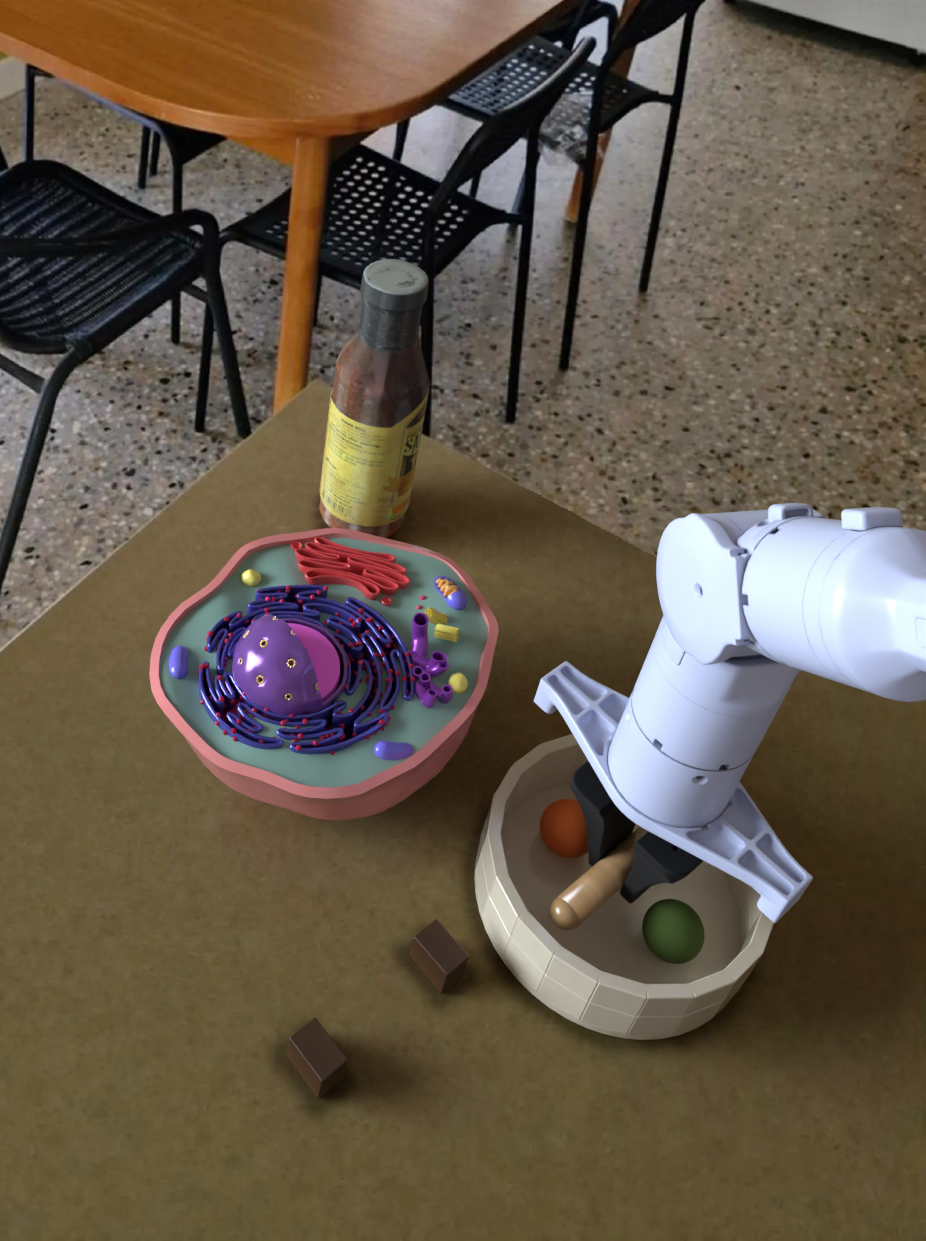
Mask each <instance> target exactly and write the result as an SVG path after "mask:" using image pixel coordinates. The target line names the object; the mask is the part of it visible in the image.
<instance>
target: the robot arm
mask: <svg viewBox="0 0 926 1241" xmlns="http://www.w3.org/2000/svg"><path fill="white" fill-rule="evenodd" d="M840 518H841V519H834V518H826V517H825V515H823V514H822V513H821V512H819V511H818V510H816V509H814V508H813V507H812V506H811V505H810V504H809V503H803V502H785V503H774V504H771V505H770V506H769V507H768V508H767V509H755V510H741V511H728V512H714V513H713V512H712V513H698V512H691V513H689V514H688V515H687V516H685V517H678V518H675V519H673V520H672V521H670V522H669V524H667V526H666V527H665V529H664V530H663V532H662V535H661V537H660V540H659V543H658V548H657V552H656V563H655V576H656V577H655V579H656V588H657V596H658V598H659V599H658V600H659V604H660V609H661V611H662V618H661V620H660V623H659V625H658V628H657V629H656V632H655V635H654V638H653V640H652V643H651V645H650V647H649V650H648V652H647V655H646V657H645V660H644V662H643V664H642V667H641V669H640V672H639V674H638V676H637V680H636V682H635V684H634V686H633V688H632V691H631V694H630V695H629V696H627V695H624V694H623V693H621V692H618V691H616V690H614V689H612V688H610V687H608V686H606V685H604V684H603V683H600V682H599V681H597V680H594V679H593V678H592V677H589V676H588V675H586V674H584V673H583V672H581V671H580V670H579V669H577V668H576V667H575V666H574V665H572V664H571V663H570V662H569V661H567V660H565V661H564V662H562V663H561V664H559V665H558V666H557V667H555V668H553V669H552V670H551V671H549V672H548V673H547V674H545V675H544V676H542V677H541V678H540V680H539V684H538V686H537V689H536V693H535V696H534V698H533V703H535V705H536V706H538V707H539V709H541V710H542V711H543V712H544V713H545V714H548V715H552V714H554V713H555V712H556V711H558V713H559V714H560V716H561V717H562V719H563V720H564V722H565V724H566V725H567V726H568V729H569V730H570V732H571V734H573V735H574V737H575V739H576V740H577V742H578V744H579V745H580V747H581V749H582V751H583V752H584V754H585V756H586V757H587V759H588V760H587V762H585V763H584V764H583V765H581V766H580V767H579V768H578V769H577V770H576V771H575V772H574V774H573V777H572V780H571V785H570V789H571V790H572V792H573V793H574V795H575V796H576V798H577V800H578V802H579V804H580V807H581V810H582V812H583V815H584V819H585V823H586V829H587V836H588V859H589V864H590V865H591V866H592V867H593V866H594V865H595V864H596V863H597V862H599V861H600V860H601V859H602V858H603V857H604V856H606V855H607V854H608V853H609V852H610V851H611V850H613V849H614V848H615V847H616V846H617V845H618V844H620V843H621V842H622V841H623V840H624V839H625V838H627V837H628V836H629V835H630V834H631V833H632V832H633V830H634V827H635V825H636V824H637V825H639V826H640V827H642V828H644V829H645V830H647V831H648V832H647V833H646V834H645V835H643V836H642V837H641V838H640V839H639V840H638V841H636V843H635V845H634V851H635V858H634V863H633V866H632V870H631V872H630V874H629V875H628V877H627V878H626V880H625V882H624V883H623V887H622V888H621V890H620V895H621V896H622V897H623V898H624V899H625V900H626V901H627V902H628V903H633V902H634V901H635V900H636V899H638V898H639V897H640V896H641V895H642V894H643V893H644V892H645V891H646V890H648V889H649V888H650V887H651V886H653V885H656V884H660V883H670V884H673V883H675V882H678V881H680V880H682V879H683V878H685V877H686V876H688V875H689V874H690V873H691V872H692V871H693V870H694V869H695V868H697V867H698V866H699V865H700V864H701V863H702V862H703V861H705V862H707V863H709V864H711V865H713V866H715V867H717V868H719V869H720V870H722V871H724V872H726V873H728V874H730V875H732V876H734V877H735V878H737V879H739V880H741V881H743V882H745V883H746V884H748V885H750V886H751V887H752V888H753V889H755V890H756V891H757V892H758V893H759V894H760V895H761V897H760V898H759V900H758V902H757V907H758V908H759V910H760V911H761V912H762V913H764V914H765V915H766V916H767V917H768V918H769V919H770V920H771V921H772V922H773V923H774V924H776V923H778V922H779V921H780V919H782V918H783V917H784V916H785V915H786V914H787V913H788V912H789V911H790V910H791V908H793V907H794V906H795V905H796V904H797V903H798V902H799V901H800V899H801V897H802V896H803V894H804V893H805V892H806V890H807V889H808V887H809V885H810V884H811V882H812V881H813V879H814V877H813V875H811V874H810V873H809V872H808V871H807V870H806V869H805V868H804V867H803V866H802V865H801V864H800V863H799V862H798V861H797V860H796V859H795V858H794V856H792V854H791V853H790V852H789V851H788V850H787V848H786V847H785V845H784V844H783V843H782V841H781V839H780V838H779V837H778V835H777V834H776V832H775V831H774V829H773V828H772V827H771V825H770V824H769V822H768V820H767V819H766V818H765V816H764V815H763V814H762V812H761V811H760V809H759V807H758V806H757V804H756V803H755V801H754V800H753V799H752V798H751V796H750V795H749V793H748V792H747V789H745V787H744V786H743V784H742V782H741V780H742V778H743V776H744V774H745V772H746V770H747V769H748V767H749V765H750V763H751V761H752V759H753V757H754V755H755V754H756V753H757V750H758V748H759V746H760V745H761V743H762V742H763V739H764V737H765V735H766V734H767V732H768V730H769V728H770V726H771V724H772V722H773V720H774V719H775V717H776V715H777V713H778V711H779V709H780V708H781V706H782V704H783V702H784V700H785V698H786V696H787V694H788V693H789V691H790V689H791V687H792V685H793V684H794V681H795V680H796V678H797V676H798V674H799V673H800V674H801V672H806V673H808V674H812V675H815V676H817V677H820V678H824V679H826V680H829V681H834V682H836V683H839V684H842V685H844V686H848V687H851V688H854V689H856V690H857V689H858V690H861V691H864V692H866V693H870V694H872V695H876V696H878V697H882V698H885V699H886V700H887V699H888V700H891V701H897V702H903V703H917V702H923V701H926V530H923V529H918V528H910V527H904V524H903V512H902V511H901V510H900V509H899V508H896V507H887V506H886V507H884V506H871V507H856V508H855V507H853V508H844V509H843V510H842V511H841V513H840Z"/></svg>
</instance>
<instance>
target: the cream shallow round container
mask: <svg viewBox="0 0 926 1241" xmlns="http://www.w3.org/2000/svg"><path fill="white" fill-rule="evenodd" d="M587 760H588V759H587V757H586V756H585V754H584V752H583V751H582V749H581V747H580V745H579V744H578V742H577V740H576V739H575V737H574V735H573V734H572V733H571V734H567V735H564V736H562V737H561V736H560V737H558V738H554V739H551V740H547V741H545V742H542V743H540V744H537V746H535V747H534V748H532V749H531V750H530V751H529V752H527V753H526V754H524V755H523V756H522V757H521V758H519V759H518V760H516V761H515V762H514V763H512V764H511V766H509V768H508V771H507V772H506V773H505V775H504V777H503V778H502V780H501V782H500V783H499V785H498V787H497V789H496V790H495V792H494V794H493V796H492V799H491V803H490V805H489V808H488V810H487V811H488V812H487V814H486V817H485V821H484V824H483V827H482V830H481V833H480V836H479V844H478V847H477V853H476V858H475V863H474V878H473V879H474V880H473V881H474V889H475V898H476V903H477V908H478V912H479V915H480V918H481V921H482V924H483V927H484V930H485V931H486V934H487V936H488V938H489V940H490V942H491V945H492V946H493V949H494V950H495V952H496V953H497V954H498V956H499V958H500V959H501V960H502V962H503V964H504V965H505V966H506V967H507V969H508V970H509V971H510V972H511V974H512V975H513V976H514V977H515V979H516V980H517V982H519V983H520V984H521V985H522V986H523V987H524V988H525V989H526V990H527V991H528V992H529V993H530V994H531V995H532V996H534V997H535V998H536V999H537V1000H538V1001H540V1002H541V1003H542V1004H543V1005H545V1006H546V1007H547V1008H549V1009H550V1010H552V1011H553V1012H555V1013H557V1014H558V1015H560V1016H561V1017H563V1018H564V1019H567V1021H570V1022H572V1023H575V1024H577V1025H579V1026H580V1027H583V1028H585V1029H588V1030H590V1031H593V1032H597V1033H599V1034H602V1035H606V1036H610V1037H615V1038H619V1039H625V1040H639V1041H648V1040H649V1041H650V1040H663V1039H668V1038H673V1037H678V1036H680V1035H683V1034H686V1033H688V1032H692V1031H694V1030H696V1029H698V1028H700V1027H701V1026H703V1025H705V1024H706V1023H708V1022H709V1021H711V1020H712V1019H713V1018H714V1017H715V1016H717V1015H718V1014H719V1013H720V1012H721V1011H722V1010H724V1008H725V1007H726V1006H727V1004H728V1003H729V1002H730V1000H731V999H732V998H734V996H735V995H736V994H737V993H738V992H739V991H740V990H741V988H742V986H743V985H744V983H745V982H746V980H747V979H748V977H749V976H750V975H751V973H752V971H753V970H754V968H755V967H756V965H757V964H758V963H759V961H760V959H761V957H763V955H764V952H765V951H766V950H765V949H766V947H767V944H768V941H769V939H770V936H771V933H772V930H773V927H774V924H775V923H773V922H772V921H771V920H770V919H769V918H768V917H767V916H766V915H765V914H764V913H762V912H761V911H760V910H759V908H758V907H757V902H758V900H759V898H760V897H761V895H760V894H759V893H758V892H757V891H756V890H755V889H753V888H752V887H751V886H750V885H748V884H746V883H745V882H743V881H741V880H739V879H737V878H735V877H734V876H732V875H730V874H728V873H726V872H724V871H722V870H720V869H719V868H717V867H715V866H713V865H711V864H709V863H707V862H705V861H703V862H702V863H701V864H700V865H699V866H698V867H697V868H695V869H694V870H693V871H692V872H691V873H690V874H689V875H688V876H686V877H685V878H683V879H682V880H680V881H678V882H675V883H673V884H670V883H660V884H656V885H653V886H651V887H650V888H649V889H648V890H646V891H645V892H644V893H643V894H642V895H641V896H640V897H639V898H638V899H636V900H635V901H634V902H633V903H628V902H627V901H626V900H625V899H624V898H623V897H622V896H621V895H620V890H621V889H620V890H619V891H617V892H616V893H615V894H614V895H613V896H612V897H611V898H609V899H608V900H607V901H606V902H605V903H604V904H603V905H601V906H600V907H599V908H598V909H597V910H596V911H595V912H594V913H592V914H591V915H590V916H589V917H588V918H587V919H586V920H584V921H583V922H582V923H581V924H580V925H579V926H578V927H576V928H575V929H573V930H562V929H560V928H558V927H557V926H556V925H555V924H554V923H553V922H552V920H551V918H550V913H549V909H550V905H551V903H552V901H553V900H554V899H555V898H556V897H557V896H559V895H560V894H561V893H562V892H563V891H564V890H566V889H567V888H568V887H569V886H570V885H572V884H573V883H574V882H575V881H576V880H577V879H579V878H580V877H581V876H582V875H583V874H584V873H586V872H587V871H588V870H589V869H590V868H591V867H592V866H591V865H590V864H589V859H588V852H587V853H586V854H584V855H582V856H580V857H577V858H564V857H561V856H559V855H557V854H555V853H553V852H552V851H551V850H550V849H549V848H548V847H547V846H546V845H545V843H544V841H543V839H542V837H541V833H540V819H541V816H542V814H543V812H544V810H545V809H546V808H547V807H548V806H549V805H550V804H551V803H553V802H554V801H557V800H560V799H572V800H576V801H578V800H577V798H576V796H575V795H574V793H573V792H572V790H571V789H570V785H571V780H572V777H573V774H574V772H575V771H576V770H577V769H578V768H579V767H580V766H581V765H583V764H584V763H585V762H587ZM638 827H640V826H639V825H637V824H636V825H635V827H634V830H633V832H634V831H635V830H636V829H637V828H638ZM633 832H632V833H633ZM663 899H676V900H679V901H682V902H684V903H686V904H688V905H689V906H690V907H692V908H693V909H694V910H695V911H696V913H697V914H698V915H699V917H700V919H701V921H702V924H703V927H704V934H705V938H704V944H703V947H702V949H701V951H700V952H699V954H698V955H697V956H696V957H695V958H694V959H692V960H691V961H689V962H686V963H682V964H672V963H668V962H665V961H663V960H661V959H660V958H658V957H657V956H656V955H654V954H653V953H652V951H651V950H650V949H649V948H648V946H647V944H646V942H645V940H644V937H643V931H642V924H643V918H644V916H645V913H646V912H647V910H648V909H649V908H650V906H652V905H653V904H654V903H656V902H658V901H660V900H663Z"/></svg>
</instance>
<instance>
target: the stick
mask: <svg viewBox="0 0 926 1241" xmlns="http://www.w3.org/2000/svg"><path fill="white" fill-rule="evenodd" d="M647 832H648V831H647V830H645V829H644V828H642V827H638V828H637V829H636V830H635V831H634V832H633V833H631V834H630V835H629V836H628V837H627V838H625V839H624V840H623V841H622V842H621V843H620V844H618V845H617V846H616V847H615V848H614V849H613V850H611V851H610V852H609V853H608V854H607V855H606V856H604V857H603V858H602V859H601V860H600V861H599V862H597V863H596V864H595V865H594V866H593V867H591V868H590V869H589V870H588V871H587V872H586V873H584V874H583V875H582V876H581V877H580V878H579V879H577V880H576V881H575V882H574V883H573V884H572V885H570V886H569V887H568V888H567V889H566V890H564V891H563V892H562V893H561V894H560V895H559V896H557V897H556V898H555V899H554V900H553V901H552V903H551V905H550V909H549V913H550V918H551V920H552V922H553V923H554V924H555V925H556V926H557V927H558V928H560V929H562V930H573V929H575V928H576V927H578V926H579V925H580V924H581V923H582V922H583V921H584V920H586V919H587V918H588V917H589V916H590V915H591V914H592V913H594V912H595V911H596V910H597V909H598V908H599V907H600V906H601V905H603V904H604V903H605V902H606V901H607V900H608V899H609V898H611V897H612V896H613V895H614V894H615V893H616V892H617V891H619V890H620V889H621V888H622V887H623V883H624V882H625V880H626V878H627V877H628V875H629V874H630V872H631V870H632V866H633V863H634V858H635V851H634V845H635V843H636V841H638V840H639V839H640V838H641V837H642V836H643V835H645V834H646V833H647Z"/></svg>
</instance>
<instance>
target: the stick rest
mask: <svg viewBox="0 0 926 1241" xmlns="http://www.w3.org/2000/svg"><path fill="white" fill-rule="evenodd" d="M408 956H409V957H410V959H411V960H412V961H413V962H414V964H415V965H416V966H417V967H418V968H419V969H420V971H421V972H422V973H423V974H424V975H425V976H426V978H427V979H428V980H429V981H430V982H431V983H432V985H433V986H434V987H435V988H436V989H437V990H438V992H439V993H440V994H443V993H444V992H446V991H447V990H448V989H449V988H451V986H452V985H454V984H455V983H456V982H457V981H458V980H459V979H461V978H462V977H463V976H464V974H465V971H466V968H467V965H468V963H469V959H470V955H469V953H467V951H466V950H465V949H464V948H463V947H462V946H461V945H460V943H459V942H458V941H457V940H456V938H454V937H453V935H452V934H451V933H450V932H449V931H448V930H447V928H445V927H444V925H443V923H441V922H440V921H439V920H438V919H437V918H436V919H434V920H433V921H431V922H430V923H429V924H428V925H426V927H425V926H424V928H423V929H422V930H421V931H419V932H418V933H417V934H416V935H414V936H413V939H412V943H411V946H410V949H409V954H408ZM287 1043H288V1044H287V1049H286V1054H285V1056H286V1058H287V1059H288V1060H289V1062H290V1063H291V1065H292V1066H293V1068H295V1070H296V1071H297V1073H298V1074H299V1076H300V1077H301V1078H302V1079H303V1081H304V1082H305V1084H306V1085H307V1086H308V1087H309V1089H310V1090H311V1092H312V1093H313V1095H315V1097H316V1098H317V1099H321V1097H323V1096H324V1095H325V1094H326V1093H328V1092H329V1090H331V1089H332V1088H333V1087H334V1086H335V1085H337V1084H338V1083H339V1082H340V1081H341V1080H343V1079H344V1076H345V1072H346V1068H347V1064H348V1061H349V1060H348V1058H347V1056H346V1055H345V1054H344V1053H343V1051H342V1050H341V1048H339V1046H338V1044H336V1042H335V1041H334V1039H333V1038H332V1037H331V1036H330V1034H329V1033H328V1032H327V1030H326V1029H325V1027H323V1025H322V1024H321V1023H320V1021H319V1020H318V1019H317V1018H316V1017H313V1018H312V1019H311V1020H309V1021H308V1022H306V1023H305V1024H304V1025H303V1026H302V1027H301V1028H299V1029H298V1030H297V1031H295V1033H293V1034H291V1035H290V1037H289V1039H288V1042H287Z"/></svg>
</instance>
